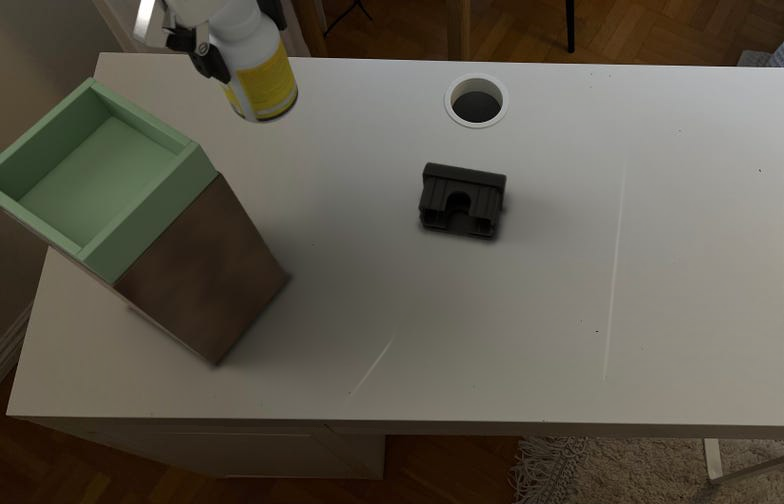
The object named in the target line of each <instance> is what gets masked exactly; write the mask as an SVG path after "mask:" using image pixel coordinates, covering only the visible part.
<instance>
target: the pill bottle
mask: <svg viewBox="0 0 784 504" xmlns="http://www.w3.org/2000/svg"><path fill="white" fill-rule="evenodd" d="M209 43H211V44H213V45H215V46H216V47H217V48H218V49H219V51H220V54H221V56H222V58H223V60H224V62H225V64H226V67H227V69H228V71H229V73H230V75H231V78H230V79H231V81H230V82H229V83H228V84H227V85H226V84H224V83H222V82H220V81H219V80H217V81H218V83H219V85H220V86H221V89H222V90H223V93H224V95H225V97H226V98H227V100H228V103H229V104H230V107H231V109H232V110H233V111H234V113H235V114H236V115H237V116H238V117H239V118H241V119H242V120H244V121H246V122H248V123H253V124H259V125H262V124H263V125H265V124H271V123H276V122H277V121H281V120H282V119H284V118H285V117H286V116H288V115H290V113H291V112H292V111H293V110H294V108H296V105H297V103H298V100H299V86H298V83H297V81H296V78H295V75H294V71H293V69H292V66H291V63H290V61H289V56H288V54H287V51H286V49H285V46H284V42H283V39H282V37H281V34H280V31H279V30H278V28H277V26H276V24H275V23H274V21H273V20H272V19H271V18H270V17H269V16H267V15H266V14H265V13H263V12H261V11H260V9H259V6H258V4H257V1H256V0H231V1H230V2H229V3H227V4H226V5H225V6H224V7H223V8H222V9H220V10H219V11H218V12H217V13H216V14H214V15H213V16H212V17H211V18H209Z"/></svg>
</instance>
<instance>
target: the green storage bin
mask: <svg viewBox="0 0 784 504" xmlns="http://www.w3.org/2000/svg"><path fill="white" fill-rule="evenodd" d="M217 171H218V170H217V169H216V167H215V165H214V163H212V161H211V160H210V158H209V156H208V155H207V154H206V151H205V150H204V149H203V147H202V145H201V144H200V143H199V142H197V141H195V140H193V139H192V138H190V137H189V136H187V135H186V134H184V133H182V132H181V131H179V130H178V129H175V128H174V127H173V126H172V125H170V124H168V123H166V122H164V121H163V120H161V119H160V118H158V117H156V116H155V115H153V114H151V113H150V112H149V111H147V110H146V109H143V108H142V107H140V106H139V105H137V104H135V103H134V102H132V101H130V100H129V99H128V98H126V97H124V96H122V95H121V94H119V93H117V92H116V91H114V90H112V89H111V88H109V87H108V86H106V85H105V84H103V83H101V82H100V81H98V80H97V79H94V78H93V77H92V76H89V77H88V78H87V79H85V81H83V82H81V84H80V85H79V86H77V87H76V88H75V89H74V90H73V91H71V93H70V94H68V95H67V96H66V97H65V98H63V99H62V100H61V101H60V102H59V103H58V104H56V106H54V107H53V108H52V109H51V110H50V111H48V112H47V113H46V114H45V115H44V116H43V117H42V118H41V119H39V120H38V121H37V122H36V123H34V125H32V126H31V127H30V128H28V130H26V131H25V132H24V133H23V134H22V135H21V136H20V137H18V138H17V139H16V140H15V141H14V142H12V144H10V145H9V146H8V147H7V148H6V149H5V150H3V151H2V152H1V153H0V207H2V208H3V209H6V210H7V211H8V212H10V213H11V214H13V215H14V216H15V217H17V218H18V219H20V220H21V221H23V222H24V223H25V224H27V225H28V226H30V227H31V228H32V229H34V230H35V231H37V232H38V233H40V234H41V235H42V236H44V237H45V238H47V239H48V240H50V241H51V242H52V243H54V244H55V245H57V246H58V247H59V248H61V249H62V250H64V251H65V252H67V253H68V254H69V255H71V256H72V257H74V258H75V259H76V260H78V261H79V262H81V263H82V264H84V265H85V266H86V267H88V268H89V269H91V270H92V271H94V272H95V273H96V274H98V275H99V276H101V277H102V278H103V279H105V280H106V281H108V282H109V283H111V284H113V283H114V282H115V281H116V280H117V279H118V278H119V277H120V276H121V275H122V274H123V273H124V272H125V271H126V270H127V269H128V268H129V267H130V266H131V264H132V263H133V262H134V261H135V260H136V259H137V258H138V257H139V256H140V255H141V254H142V253H143V252H144V251H145V250H146V249H147V248H148V247H149V246H150V245H151V244H152V243H153V242H154V241H155V240H156V239H157V238H158V237H159V235H160V234H161V233H162V232H163V231H164V230H165V229H166V228H167V227H168V226H169V225H170V224H171V223H172V222H173V221H174V220H175V219H176V218H177V217H178V216H179V215H180V214H181V213H182V212H183V211H184V210H185V209H186V208H187V206H188V205H189V204H190V203H191V202H192V201H193V200H194V199H195V198H196V197H197V196H198V195H199V194H200V193H201V192H202V191H203V190H204V189H205V188H206V187H207V186H208V185H209V184H210V183H211V182H212V181H213V180H214V179H215V177H216V176H217V175H218V172H217Z"/></svg>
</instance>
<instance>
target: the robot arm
mask: <svg viewBox="0 0 784 504" xmlns="http://www.w3.org/2000/svg"><path fill="white" fill-rule="evenodd" d="M230 1H231V0H140V3H139V8H138V11H137V16H136V20H135V23H134V27H133V31H132V38H133V39H134V40H135V41H137V42H139V43H141V44H142V45H144V46H145V47H148V48H152V49H153V48H154V49H160V50H161V49H163V50H165V49H167V50H171V51H173V52H179V53H186V54H187V55H188V57H189V59H190V61H191V63H192V65H193V67H194V69H195V70H196V71H197V73H199V74H200V75H201V76H203V77H205V78H206V79H211V78H213V79H215V80H217V81H218V80H219V81H220V82H222V83H224V84H226V85H227V84H228V83H229V82H230V81H231V79H230V78H231V75H230V73H229V71H228V69H227V67H226V64H225V62H224V60H223V58H222V56H221V54H220V51H219V49H218V48H217V47H216V46H215V45H213V44H211V43H209V18H211V17H212V16H213V15H214V14H216V13H217V12H218V11H219V10H220V9H222V8H223V7H224V6H225V5H226V4H227V3H229V2H230ZM256 1H257V4H258V6H259V9H260V11H261V12H263V13H265V14H266V15H267V16H269V17H270V18H271V19H272V20H273V21H274V23H275V24H276V26H277V28H278V31H279V32H284V31H285V30H287V28H288V22H287V19H286V17H285V14H284V7H283V5H282V1H281V0H256ZM168 8H169V18H170V27H167V26H164V22H165V18H166V14H167V11H168ZM189 28H191V29H189ZM219 81H218V82H219Z"/></svg>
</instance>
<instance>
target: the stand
mask: <svg viewBox="0 0 784 504" xmlns="http://www.w3.org/2000/svg"><path fill="white" fill-rule="evenodd" d="M217 172H218V175H217V176H216V177H215V179H214V180H213V181H212V182H211V183H210V184H209V185H208V186H207V187H206V188H205V189H204V190H203V191H202V192H201V193H200V194H199V195H198V196H197V197H196V198H195V199H194V200H193V201H192V202H191V203H190V204H189V205H188V206H187V208H186V209H185V210H184V211H183V212H182V213H181V214H180V215H179V216H178V217H177V218H176V219H175V220H174V221H173V222H172V223H171V224H170V225H169V226H168V227H167V228H166V229H165V230H164V231H163V232H162V233H161V234H160V235H159V237H158V238H157V239H156V240H155V241H154V242H153V243H152V244H151V245H150V246H149V247H148V248H147V249H146V250H145V251H144V252H143V253H142V254H141V255H140V256H139V257H138V258H137V259H136V260H135V261H134V262H133V263H132V264H131V266H130V267H129V268H128V269H127V270H126V271H125V272H124V273H123V274H122V275H121V276H120V277H119V278H118V279H117V280H116V281H115V282H114V283H113V284H111V283H109V282H108V281H106V280H105V279H103V278H102V277H101V276H99V275H98V274H96V273H95V272H94V271H92V270H91V269H89V268H88V267H86V266H85V265H84V264H82V263H81V262H79V261H78V260H76V259H75V258H74V257H72V256H71V255H69V254H68V253H67V252H65V251H64V250H62V249H61V248H59V247H58V246H57V245H55V244H54V243H52V242H51V241H50V240H48V239H47V238H45V237H44V236H42V235H41V234H40V233H38V232H37V231H35V230H34V229H32V228H31V227H30V226H28V225H27V224H25V223H24V222H23V221H21V220H20V219H18V218H17V217H15V216H14V215H13V214H11V213H10V212H8V211H7V210H6V209H4V208H3V209H2V212H3V213H5V214H6V215H8V216H9V217H10V218H11V219H13V220H15V222H17V223H18V224H20V225H21V226H22V227H24V228H25V229H26V230H28V231H29V232H30V233H31V234H33V235H34V236H35V237H37V238H38V239H39V240H40V241H42V242H44V243H45V244H46V245H47V246H49V247H50V248H51V249H53V250H55V252H57V253H58V254H60V255H61V256H62V257H64V258H65V259H66V260H68V261H69V262H70V263H71V264H73V265H74V266H75V267H77V268H78V269H80V271H82V272H83V273H85V274H86V275H87V276H89V277H90V278H91V279H93V280H94V281H96V282H97V283H98V284H99V285H101V286H102V287H103V288H105V289H106V290H108V291H109V292H110V293H111V294H113V296H115V297H116V298H118V299H119V300H121V301H122V302H123V303H125V304H126V305H127V306H129V307H130V308H131V309H133V310H134V311H136V312H137V313H138V314H140V315H141V316H143V317H144V318H146V319H147V320H148V321H150V322H151V323H153V324H154V325H155V326H156V327H158V328H160V329H161V330H162V331H163V332H165V333H166V334H168V335H169V336H170V337H172V338H174V339H175V340H176V341H178V342H179V343H181V344H182V345H184V346H185V347H186V348H188V349H189V350H191V351H192V352H193V353H195V354H196V355H198V356H199V357H200V358H202V359H203V360H205V361H206V362H207V363H209V364H210V365H212V367H215V366H216V365H217V364H218V362H220V360H221V359H222V357H223V356H224V355H225V354H226V352H227V351H229V349H231V347H232V346H233V345H234V344H235V342H236V341H237V340H238V339H239V337H240V336H241V335H242V334H243V333H244V332H245V330H246V329H247V328H248V326H250V324H251V323H252V322H253V321H254V319H255V318H256V317H257V316H258V314H259V313H260V312H261V311H263V309H264V308H265V306H266V305H267V304H268V303H269V301H270V300H271V299H272V298H273V297H274V296H275V294H276V293H277V292H278V291H279V290H280V289H281V287H282V286H283V285H284V284H285V282H286V281H288V279H289V278H288V276H287V275H286V273H285V272H284V270H283V268H282V266H281V265H280V264H279V262H278V260H277V258H276V257H275V256H274V254H273V252H272V251H271V249H270V248H269V246H268V244H267V243H266V240H264V237H262V235H261V233H260V232H259V230H258V229H257V227H256V225H255V224H254V222H253V220H252V218H251V217H250V216H249V214H248V212H247V211H246V209H245V207H244V206H243V205H242V203H241V201H240V200H239V198H238V196H237V195H236V193H235V192H234V190H233V189H232V187H231V185H230V184H229V182H228V180H227V179H226V177H225V176H224V174H223V173H222V172H221V171H219V170H217Z"/></svg>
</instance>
